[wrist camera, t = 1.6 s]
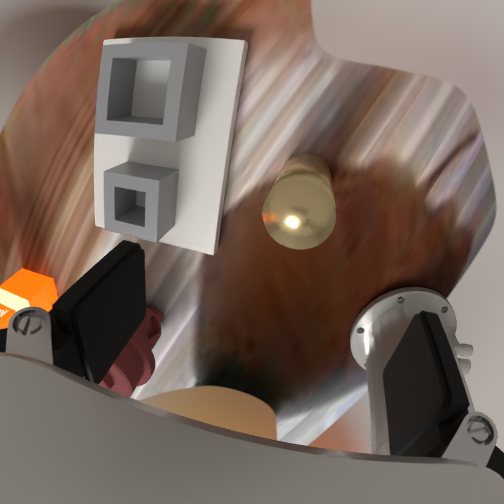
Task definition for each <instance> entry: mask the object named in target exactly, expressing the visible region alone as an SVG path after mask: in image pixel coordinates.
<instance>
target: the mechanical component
mask: <svg viewBox="0 0 504 504" xmlns="http://www.w3.org/2000/svg"><path fill="white" fill-rule="evenodd" d="M162 319H163V314H162V312H161V311H160V310H158V309H151V308H148V307H146V315H145V318H144V320H143V322H142V323H141V324H140V326H139V327H138V329H137V330H136V332H135V333H134V334H133V336H132V337H131V339H130V340H129V342H128V343H127V344H126V346H125V347H124V349H123V350H122V352H121V353H120V355H119V356H118V357H117V359H116V360H115V362H114V363H113V365H112V366H111V368H110V369H109V371H108V372H107V374H106V375H105V377H104V378H103V380H102V381H101V382H100V384H98V385H100V386H102V387H105V388H107V389H110V390H112V391H115V392H117V393H120V394H122V395H125V396H127V397H131V395H132V393H133V392H134V390H135V388H136V387H137V386H140V385H143V384H145V383H147V382H148V381H149V379H150V378H151V376H152V374H153V372H154V370H155V359H154V355H153V353H152V351H151V350H152V349H153V347H154V346H155V344H156V343H157V341H158V339H159V338H160V336H161V326H160V322H161V320H162Z"/></svg>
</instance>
